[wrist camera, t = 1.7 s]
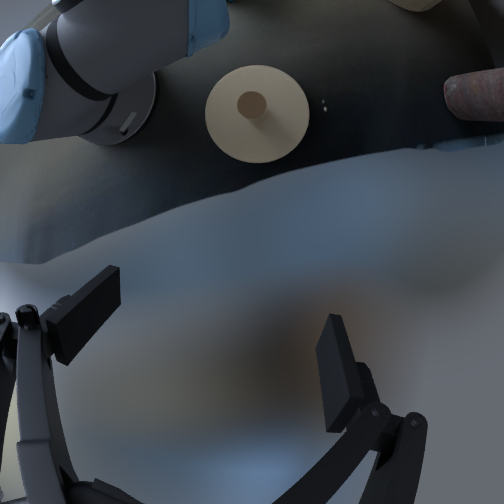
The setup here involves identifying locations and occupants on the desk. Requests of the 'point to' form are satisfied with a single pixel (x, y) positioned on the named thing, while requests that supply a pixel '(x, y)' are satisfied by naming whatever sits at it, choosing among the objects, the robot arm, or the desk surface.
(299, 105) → the jug lid
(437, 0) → the beige cup
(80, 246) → the desk surface
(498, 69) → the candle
